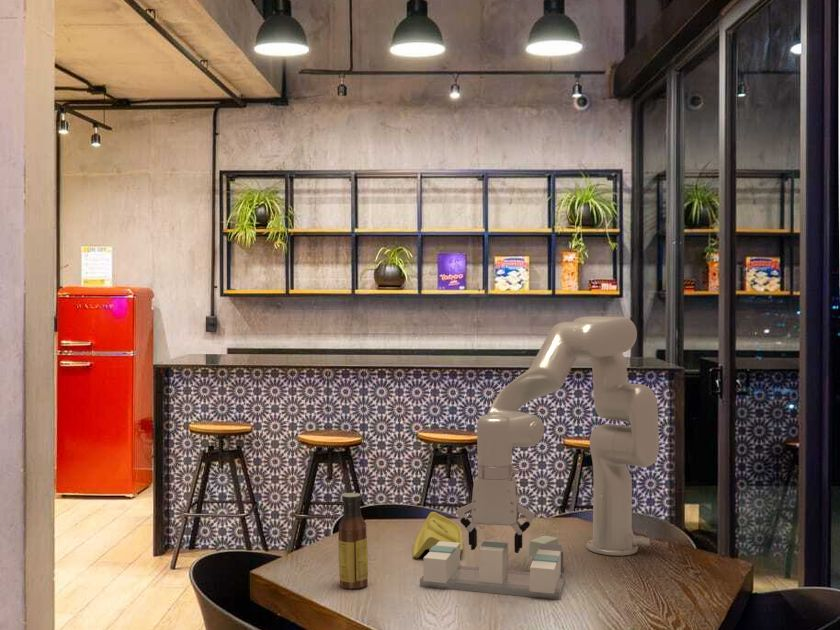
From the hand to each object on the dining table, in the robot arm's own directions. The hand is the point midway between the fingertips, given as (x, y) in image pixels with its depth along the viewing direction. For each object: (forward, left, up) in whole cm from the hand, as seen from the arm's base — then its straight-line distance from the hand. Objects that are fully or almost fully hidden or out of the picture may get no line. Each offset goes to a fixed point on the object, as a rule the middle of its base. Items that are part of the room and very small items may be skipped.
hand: (495, 549), depth 183 cm
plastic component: (+18, -22, -8) cm, 30 cm away
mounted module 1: (+12, +1, -6) cm, 13 cm away
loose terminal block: (-8, -25, -8) cm, 28 cm away
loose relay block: (-11, -14, -8) cm, 20 cm away
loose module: (0, 0, -6) cm, 6 cm away
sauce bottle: (+29, +11, -8) cm, 32 cm away
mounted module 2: (-11, +1, -6) cm, 13 cm away
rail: (0, +1, -7) cm, 7 cm away
